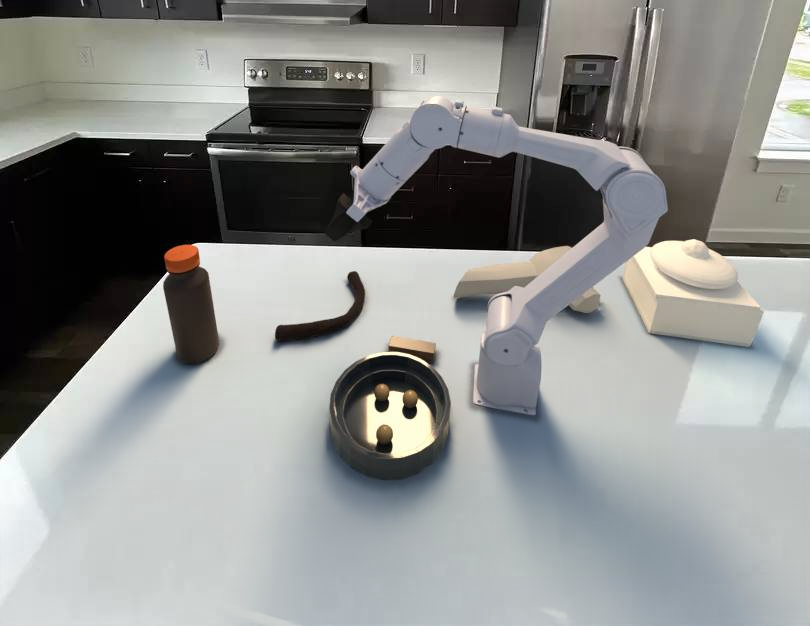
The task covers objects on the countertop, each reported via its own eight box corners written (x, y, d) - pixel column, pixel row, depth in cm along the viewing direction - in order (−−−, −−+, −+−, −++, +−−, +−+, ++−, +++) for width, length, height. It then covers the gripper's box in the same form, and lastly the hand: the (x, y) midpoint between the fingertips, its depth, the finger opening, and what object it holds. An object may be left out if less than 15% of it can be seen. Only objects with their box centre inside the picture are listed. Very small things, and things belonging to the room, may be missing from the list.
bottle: (199, 370, 71) (181, 268, 64) (168, 358, 73) (146, 259, 66) (228, 341, 77) (213, 246, 70) (198, 331, 79) (181, 238, 72)
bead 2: (394, 434, 61) (394, 422, 60) (390, 450, 59) (391, 438, 58) (378, 430, 61) (378, 418, 61) (374, 446, 59) (374, 434, 58)
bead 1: (391, 393, 67) (391, 381, 66) (387, 406, 65) (387, 394, 64) (376, 390, 68) (376, 378, 67) (372, 403, 65) (372, 391, 65)
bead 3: (418, 399, 66) (419, 388, 66) (416, 413, 64) (416, 401, 63) (403, 396, 67) (404, 385, 66) (400, 410, 65) (401, 398, 64)
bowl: (453, 382, 70) (455, 361, 68) (441, 496, 54) (443, 471, 52) (351, 364, 73) (351, 344, 71) (312, 466, 57) (310, 443, 55)
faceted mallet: (580, 278, 97) (588, 236, 94) (605, 321, 84) (616, 273, 81) (449, 273, 98) (452, 231, 94) (453, 315, 85) (457, 268, 81)
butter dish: (750, 347, 79) (778, 275, 73) (646, 332, 82) (665, 262, 76) (705, 288, 95) (725, 225, 90) (619, 277, 98) (634, 216, 93)
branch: (309, 366, 72) (308, 351, 71) (270, 341, 77) (269, 327, 76) (388, 293, 91) (388, 280, 90) (353, 277, 96) (353, 265, 95)
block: (435, 353, 76) (435, 343, 75) (433, 364, 73) (434, 353, 73) (391, 346, 77) (391, 335, 76) (388, 356, 75) (388, 345, 74)
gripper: (384, 131, 67) (335, 186, 72) (356, 167, 53) (299, 231, 59) (418, 160, 67) (367, 212, 73) (398, 203, 54) (338, 263, 60)
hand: (339, 223), depth 66 cm, fingers open, 7 cm apart
